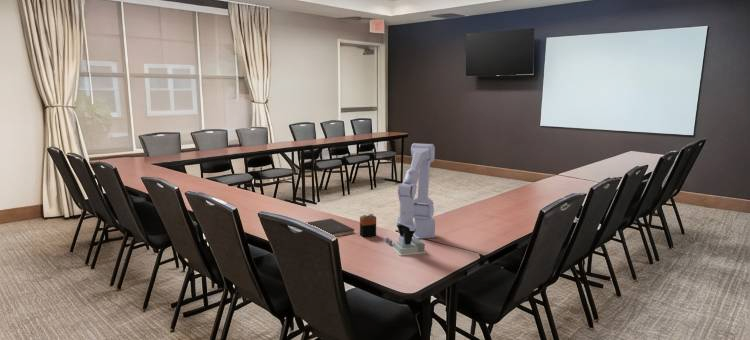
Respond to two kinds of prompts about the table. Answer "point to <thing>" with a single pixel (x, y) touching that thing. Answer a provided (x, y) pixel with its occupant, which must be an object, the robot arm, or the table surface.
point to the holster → (389, 241)
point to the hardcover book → (332, 227)
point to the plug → (403, 242)
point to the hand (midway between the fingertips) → (405, 242)
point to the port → (410, 248)
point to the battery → (368, 225)
